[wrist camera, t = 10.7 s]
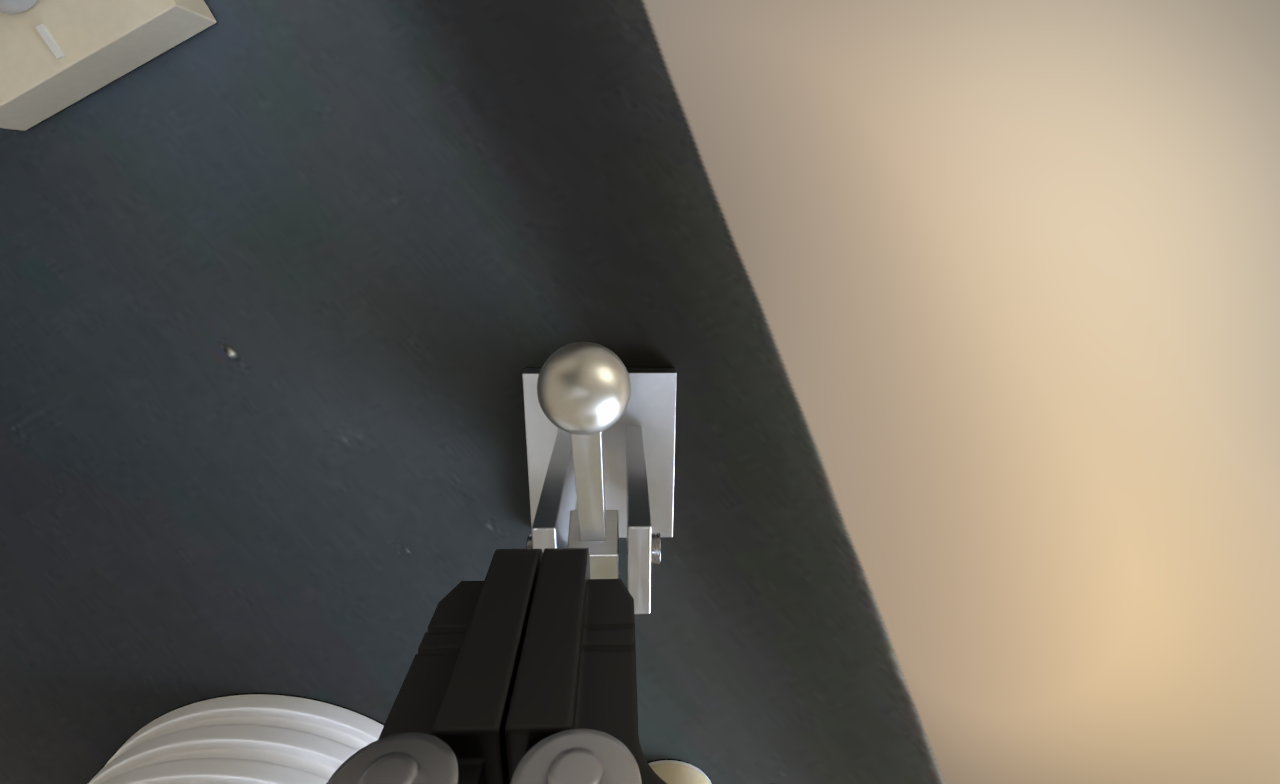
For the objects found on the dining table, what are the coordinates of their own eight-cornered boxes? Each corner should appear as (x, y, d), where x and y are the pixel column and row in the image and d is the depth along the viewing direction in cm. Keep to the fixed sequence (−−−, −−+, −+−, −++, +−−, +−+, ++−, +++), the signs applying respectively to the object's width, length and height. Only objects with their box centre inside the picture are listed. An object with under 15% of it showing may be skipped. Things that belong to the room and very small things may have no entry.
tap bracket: (525, 367, 36) (476, 455, 24) (675, 367, 36) (701, 453, 24) (534, 529, 40) (495, 677, 27) (671, 527, 40) (693, 674, 28)
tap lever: (537, 323, 21) (526, 386, 18) (630, 322, 21) (631, 385, 19) (563, 536, 30) (559, 597, 27) (629, 536, 30) (629, 596, 27)
